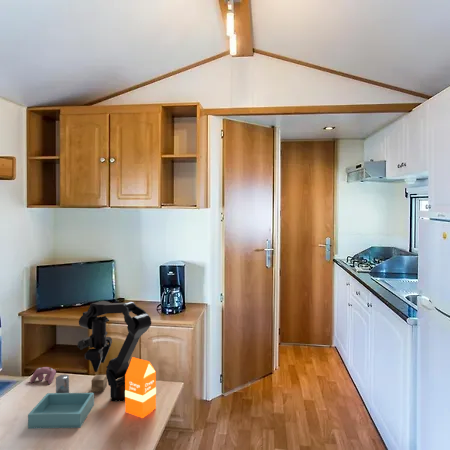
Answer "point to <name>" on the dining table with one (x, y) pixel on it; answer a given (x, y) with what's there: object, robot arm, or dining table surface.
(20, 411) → the dining table surface
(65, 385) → the steel cylinder
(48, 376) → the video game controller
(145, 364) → the orange juice
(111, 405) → the dining table surface
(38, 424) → the tote
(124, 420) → the dining table surface
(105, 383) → the walnut cube
